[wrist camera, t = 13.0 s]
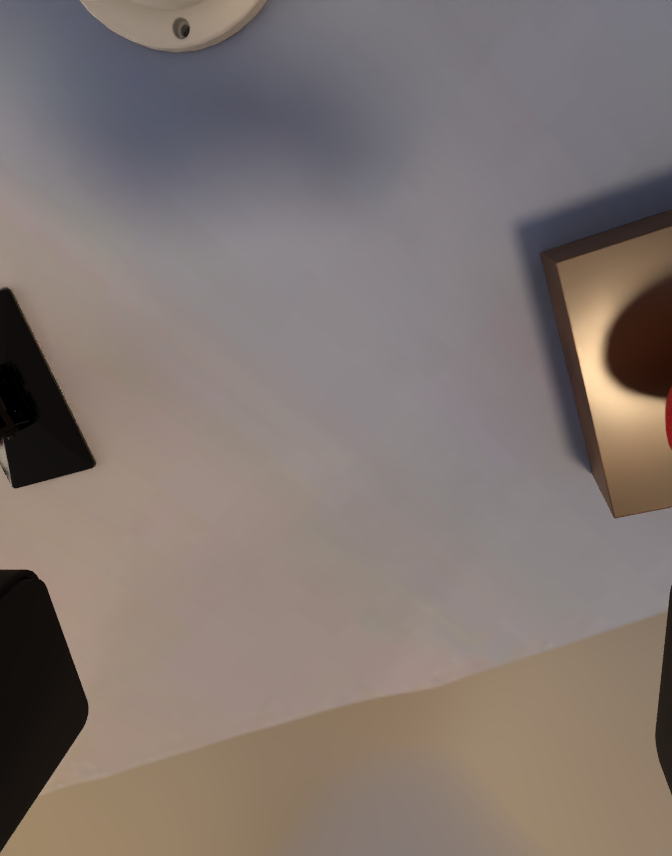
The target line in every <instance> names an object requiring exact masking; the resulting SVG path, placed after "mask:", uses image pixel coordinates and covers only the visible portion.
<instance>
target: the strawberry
mask: <svg viewBox="0 0 672 856" xmlns="http://www.w3.org/2000/svg"><path fill="white" fill-rule="evenodd" d="M665 424H666V434H667V439H668V444H669V447H670V448H671V450H672V387H671V389H670V391H669V394H668V397H667V400H666V407H665Z"/></svg>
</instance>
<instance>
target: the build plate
mask: <svg viewBox="0 0 672 856" xmlns="http://www.w3.org/2000/svg"><path fill="white" fill-rule="evenodd" d="M0 465H1V467H2V469H3V471H4V472H5V474H6V476H7V478H8V480H9V482H10V483H11V485H12V487H13V488H20V487H23V486H27V485H31V484H34V483H38V482H42V481H46V480H49V479H53V478H57V477H61V476H64V475H68V474H72V473H76V472H79V471H83V470H87V469H90V468H93V467H94V466H95V465H96V462H95V460H94V458H93V456H92V454H91V452H90V450H89V448H88V446H87V444H86V442H85V440H84V438H83V436H82V434H81V432H80V430H79V427H78V425H77V423H76V421H75V419H74V417H73V415H72V413H71V411H70V409H69V407H68V405H67V403H66V401H65V399H64V397H63V395H62V393H61V391H60V389H59V387H58V385H57V383H56V381H55V379H54V377H53V375H52V372H51V370H50V368H49V366H48V364H47V362H46V360H45V358H44V356H43V354H42V352H41V350H40V348H39V346H38V344H37V342H36V340H35V338H34V336H33V334H32V332H31V330H30V328H29V326H28V324H27V322H26V320H25V318H24V315H23V313H22V311H21V309H20V307H19V305H18V303H17V301H16V299H15V297H14V295H13V293H12V291H11V290H10V289H3V290H1V291H0Z"/></svg>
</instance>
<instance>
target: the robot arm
mask: <svg viewBox="0 0 672 856" xmlns="http://www.w3.org/2000/svg"><path fill="white" fill-rule="evenodd" d="M79 1H80V2H81V3H82V4H83V5H84V6H85V7H86V9H87V10H88V11H89V12H90V13H91V14H92V15H93V16H94V17H95V18H97V19H98V20H99V21H100V22H102V23H103V24H104V25H105V26H107V27H108V28H109V29H110V30H112V31H113V32H115V33H117V34H119V35H121V36H123V37H125V38H126V39H128V40H130V41H132V42H135V43H138V44H140V45H143V46H145V47H148V48H150V49H154V50H161V51H167V52H174V53H176V52H187V51H197V50H200V49H203V48H206V47H209V46H212V45H215V44H218V43H220V42H222V41H224V40H225V39H227V38H228V37H230V36H232V35H233V34H235V33H237V32H238V31H240V30H241V29H242V28H243V27H244V26H245V25H246V24H247V23H248V22H249V21H250V20H251V19H252V18H254V17H255V16H256V15H257V14H258V13H259V11H260V10H261V9H262V7H263V6H264V4H265V3H266V2H267V0H79ZM188 27H190V33H189V34H188V36H187V37H185V30H186V28H188ZM87 716H88V702H87V699H86V696H85V693H84V690H83V688H82V685H81V682H80V679H79V676H78V674H77V671H76V668H75V665H74V662H73V660H72V657H71V654H70V651H69V648H68V646H67V643H66V640H65V637H64V635H63V632H62V629H61V626H60V623H59V621H58V618H57V615H56V612H55V609H54V607H53V604H52V601H51V598H50V595H49V593H48V590H47V587H46V585H45V583H44V582H43V581H42V580H39V578H38V577H37V575H36V574H35V573H34V572H33V571H30V570H0V852H1V851H2V849H3V848H4V846H5V845H6V843H7V841H8V840H9V838H10V837H11V835H12V834H13V832H14V831H15V829H16V828H17V826H18V825H19V823H20V822H21V820H22V819H23V817H24V816H25V814H26V813H27V811H28V810H29V808H30V807H31V805H32V804H33V802H34V801H35V799H36V798H37V796H38V795H39V793H40V792H41V790H42V789H43V787H44V786H45V784H46V783H47V781H48V780H49V778H50V777H51V775H52V774H53V772H54V771H55V769H56V768H57V766H58V765H59V763H60V762H61V760H62V759H63V757H64V756H65V754H66V753H67V751H68V750H69V748H70V747H71V745H72V744H73V742H74V741H75V739H76V738H77V736H78V735H79V733H80V732H81V730H82V729H83V727H84V725H85V723H86V720H87ZM655 738H656V747H657V753H658V757H659V761H660V764H661V767H662V770H663V772H664V775H665V778H666V781H667V783H668V786H669V789H670V791H671V794H672V586H671V590H670V597H669V607H668V617H667V627H666V636H665V646H664V655H663V665H662V674H661V684H660V693H659V703H658V713H657V722H656V734H655Z"/></svg>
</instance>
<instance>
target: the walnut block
mask: <svg viewBox="0 0 672 856" xmlns="http://www.w3.org/2000/svg"><path fill="white" fill-rule="evenodd" d="M540 255H541V259H542V263H543V268H544V272H545V276H546V280H547V284H548V289H549V293H550V297H551V301H552V306H553V310H554V314H555V318H556V322H557V327H558V331H559V335H560V339H561V343H562V348H563V352H564V356H565V360H566V365H567V369H568V373H569V377H570V381H571V386H572V390H573V394H574V398H575V402H576V407H577V411H578V415H579V419H580V424H581V428H582V432H583V436H584V440H585V445H586V449H587V453H588V457H589V461H590V466H591V470H592V474H593V477H594V479H595V481H596V483H597V485H598V487H599V489H600V491H601V493H602V495H603V497H604V499H605V501H606V503H607V505H608V507H609V509H610V511H611V513H612V515H613V517H614V518H619V517H624V516H629V515H634V514H639V513H644V512H649V511H655V510H660V509H665V508H670V507H672V450H671V448H670V447H669V444H668V439H667V434H666V424H665V407H666V400H667V397H668V394H669V391H670V389H671V387H672V209H671V210H668V211H665V212H662V213H659V214H656V215H653V216H650V217H647V218H644V219H641V220H638V221H635V222H632V223H629V224H626V225H623V226H620V227H617V228H613V229H610V230H607V231H604V232H601V233H598V234H595V235H592V236H589V237H586V238H583V239H580V240H577V241H574V242H571V243H568V244H565V245H562V246H559V247H556V248H553V249H549V250H546V251H543V252H541V253H540Z"/></svg>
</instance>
